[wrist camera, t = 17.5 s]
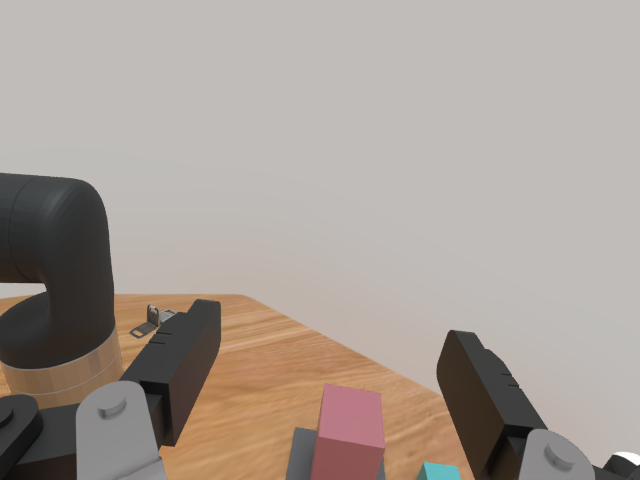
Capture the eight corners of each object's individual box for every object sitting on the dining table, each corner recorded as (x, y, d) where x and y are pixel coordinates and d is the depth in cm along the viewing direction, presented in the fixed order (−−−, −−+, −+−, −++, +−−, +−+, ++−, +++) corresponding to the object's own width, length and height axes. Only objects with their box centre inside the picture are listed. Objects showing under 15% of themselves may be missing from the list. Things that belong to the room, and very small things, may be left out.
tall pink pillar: (306, 508, 35) (318, 436, 31) (313, 451, 41) (324, 383, 37) (363, 519, 35) (385, 448, 30) (362, 460, 41) (380, 393, 36)
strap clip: (168, 311, 64) (167, 293, 63) (179, 316, 63) (178, 298, 61) (128, 334, 57) (125, 314, 55) (139, 341, 56) (137, 321, 54)
